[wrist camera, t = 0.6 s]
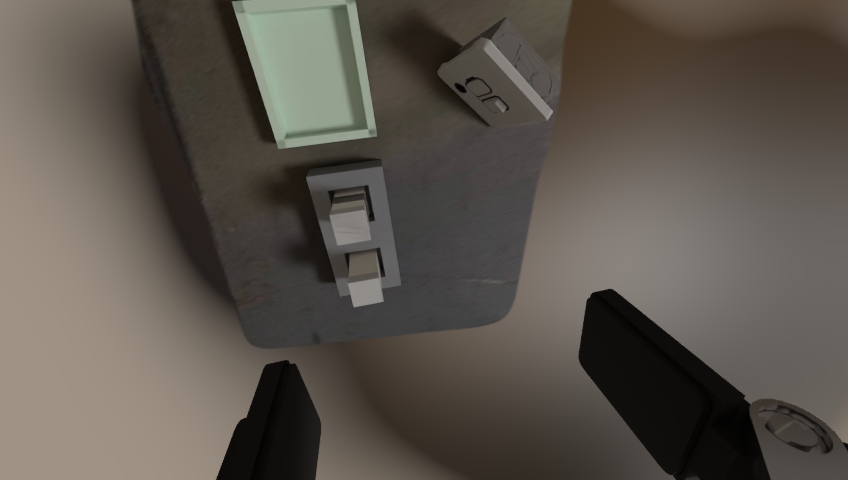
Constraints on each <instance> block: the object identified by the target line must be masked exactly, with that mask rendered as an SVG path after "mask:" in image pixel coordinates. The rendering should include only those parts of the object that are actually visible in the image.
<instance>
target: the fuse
mask: <svg viewBox="0 0 848 480" xmlns="http://www.w3.org/2000/svg"><path fill="white" fill-rule="evenodd" d="M348 287H349V290H350V294H351V298H352V302H353V305H354V307H357V306H363V305H368V304H373V303H379V302H383V294H382V286H381V276H380V262H379V257H378V252H377V248H374V249H368V250H362V251H356V252H350V263H349V277H348Z"/></svg>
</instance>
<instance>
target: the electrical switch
mask: <svg viewBox="0 0 848 480" xmlns="http://www.w3.org/2000/svg"><path fill="white" fill-rule="evenodd" d="M504 19H505V18H503V19H502V20H501V21H499V22H498V23H496V24H495V25H493V26H492V27H491V28H489V29H488V30H486V31H485V32H483V33H482V34H481V35H479V36H478V37H476V38H475V39H473V40H472V41H471V42H469V43H468V44H466V45H465V46H463V48H462V50H461V51H460V53H459V54H458V55H456V57H455V58H453V59H452V60H450V61H449V62H447V63H446V62H444V63H443V64H441V66H440V68H439V70H438V71H437V72H438V75H439V77H440V78H441V79H442V80H443V81H444V82H445V83H446V84H447V85H448V86H449V87H450V88H451V89H452V90H454V91H455V92H456V93H457V94H458V95H459V96H460V97H461V98H462V99H463V100H464V101H465V102H466V103H467V104H468V105H469V106H470V107H471V108H472V109H473V110H474V111H476V112H477V113H478V114H479V115H480V116H481V117H482V118H483V119H484V120H485V121H486V122H487V123H488V124H489V125H490V126H491V127H493V128H495V129H501V128H508V127H515V126H522V125H529V124H536V123H544V122H546V121H547V120H548V119H549V117H550V116H551V114H552V113H553V111H552V110H551V109H550V108H549V107H548V104H549V102H550V101H551V100H552V97H553V94H554V92H555V91H556V89H557V88H558V86H559V85H560V83H561V82H560V80H559V79H558V78H557V77H556V76H555V74H554V73H553V72H552V71H551V69H550V68H549V67H548V66H547V65H546V63H545V62H544V61H543V60H542V59H541V57H540V56H539V55H538V54H537V52H536V51H535V50H534V49H533V48H532V46H531V45H530V44H529V43H528V42H527V40H526V39H525V38H524V37H523V35H522V34H521V33H520V32H519V31H518V29H517V28H516V27H515V26H514V25H513V23H512V22H511V21H510V20H509V18H508V17H507V18H506V19H505V20H504ZM503 21H504V22H503ZM502 22H503V23H502ZM501 24H502V25H501ZM512 32H513V33H512ZM519 56H520V59H519V60H518V58H519ZM517 60H518V62H517ZM515 66H517V68H516V67H515ZM537 72H538V73H537ZM532 73H533V74H532ZM531 74H532V75H531ZM548 74H549V75H548ZM527 79H528V80H527ZM532 84H533V88H532Z"/></svg>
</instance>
